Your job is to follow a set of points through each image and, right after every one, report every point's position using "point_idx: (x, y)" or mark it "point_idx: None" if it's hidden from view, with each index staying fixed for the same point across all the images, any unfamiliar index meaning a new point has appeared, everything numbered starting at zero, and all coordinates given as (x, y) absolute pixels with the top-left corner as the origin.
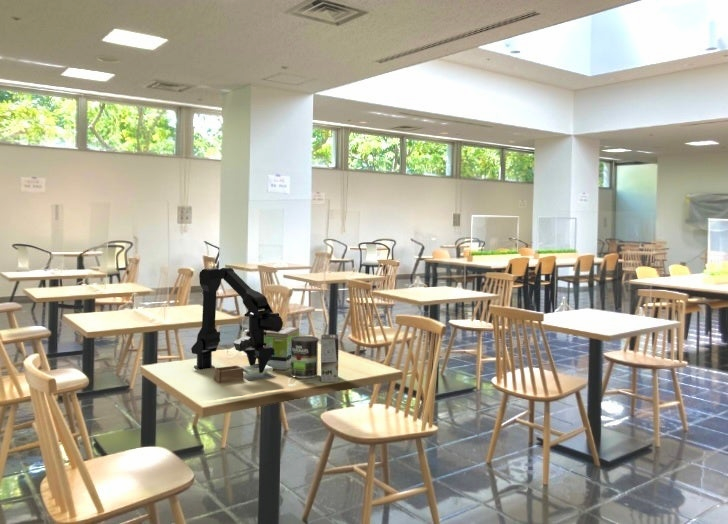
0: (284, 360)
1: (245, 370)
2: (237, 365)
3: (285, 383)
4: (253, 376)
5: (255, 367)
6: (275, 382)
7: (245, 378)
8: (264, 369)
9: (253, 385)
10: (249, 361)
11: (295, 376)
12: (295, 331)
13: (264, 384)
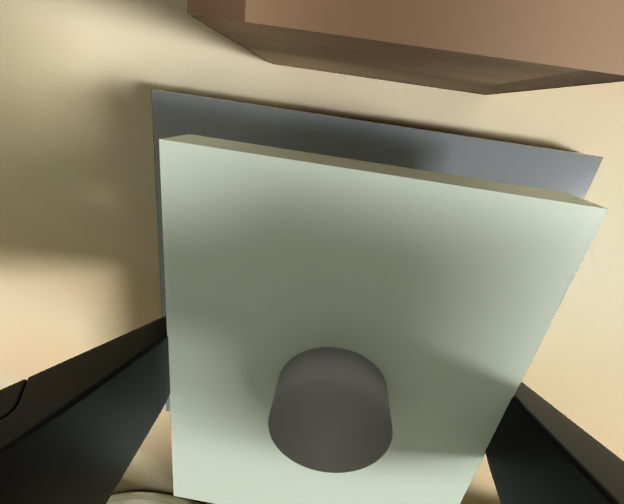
0: None
1: (325, 160)
2: (617, 63)
3: (3, 360)
4: None
5: (297, 361)
6: (68, 324)
7: (305, 127)
8: (175, 400)
9: (43, 77)
10: (581, 458)
11: (129, 501)
12: None
13: (38, 206)
